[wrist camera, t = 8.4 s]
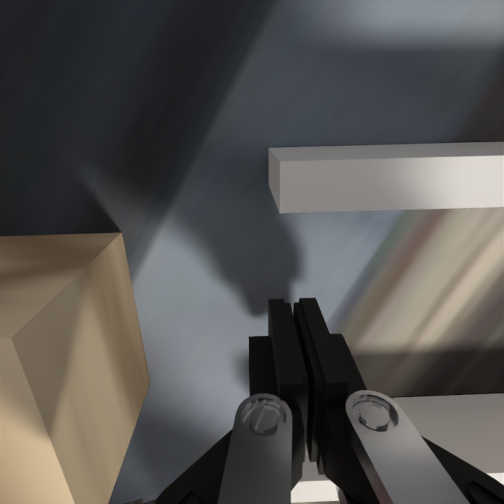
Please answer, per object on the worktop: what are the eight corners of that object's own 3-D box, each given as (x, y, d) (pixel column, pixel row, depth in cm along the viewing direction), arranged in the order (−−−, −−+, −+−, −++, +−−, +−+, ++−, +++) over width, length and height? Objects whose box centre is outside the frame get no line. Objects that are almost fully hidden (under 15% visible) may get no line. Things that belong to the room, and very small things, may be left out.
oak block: (122, 231, 11) (11, 338, 6) (150, 381, 14) (92, 549, 9) (-19, 236, 11) (-265, 347, 6) (36, 385, 14) (-96, 558, 9)
